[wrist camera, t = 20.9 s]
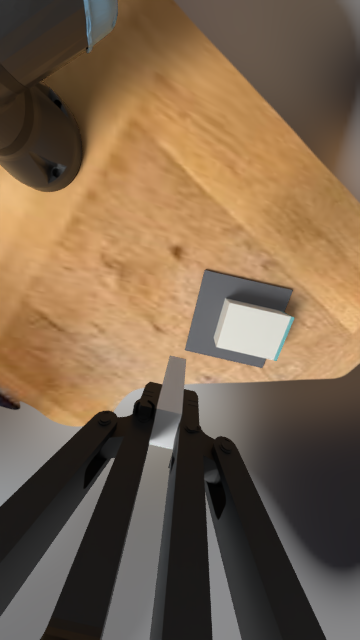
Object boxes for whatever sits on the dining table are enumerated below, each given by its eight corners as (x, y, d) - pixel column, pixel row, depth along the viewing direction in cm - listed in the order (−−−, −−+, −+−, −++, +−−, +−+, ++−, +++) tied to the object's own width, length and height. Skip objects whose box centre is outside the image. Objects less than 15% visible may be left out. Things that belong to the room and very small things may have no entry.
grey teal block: (229, 302, 34) (294, 317, 34) (225, 298, 39) (281, 311, 39) (216, 347, 36) (276, 360, 36) (213, 337, 41) (266, 349, 41)
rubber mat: (204, 270, 38) (204, 270, 37) (291, 289, 38) (292, 290, 37) (185, 349, 43) (185, 350, 43) (261, 366, 43) (262, 368, 42)
